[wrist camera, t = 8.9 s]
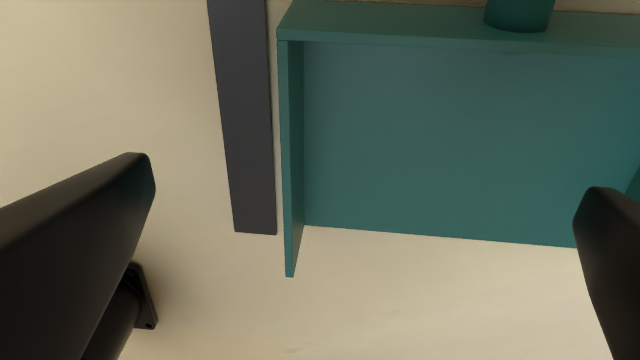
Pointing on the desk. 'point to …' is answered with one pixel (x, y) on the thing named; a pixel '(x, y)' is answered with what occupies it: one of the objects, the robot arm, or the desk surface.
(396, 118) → the dustpan
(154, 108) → the desk surface
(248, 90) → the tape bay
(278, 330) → the desk surface
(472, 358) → the desk surface
